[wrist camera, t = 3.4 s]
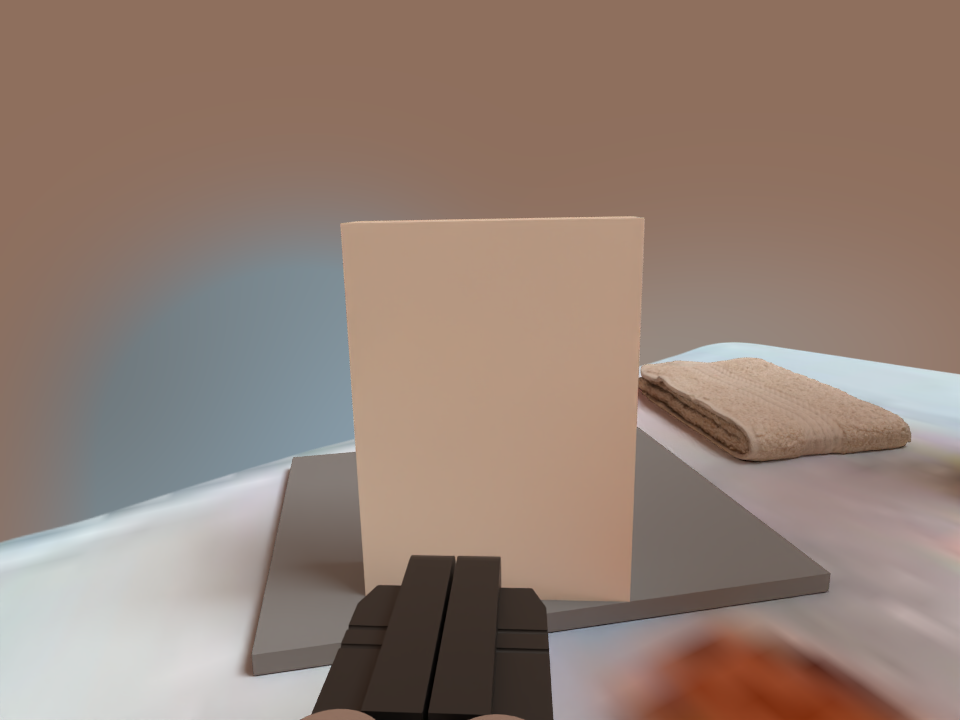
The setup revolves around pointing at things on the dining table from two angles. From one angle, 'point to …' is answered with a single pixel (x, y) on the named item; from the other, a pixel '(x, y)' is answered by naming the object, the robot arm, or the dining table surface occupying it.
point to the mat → (653, 592)
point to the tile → (497, 396)
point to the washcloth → (768, 410)
